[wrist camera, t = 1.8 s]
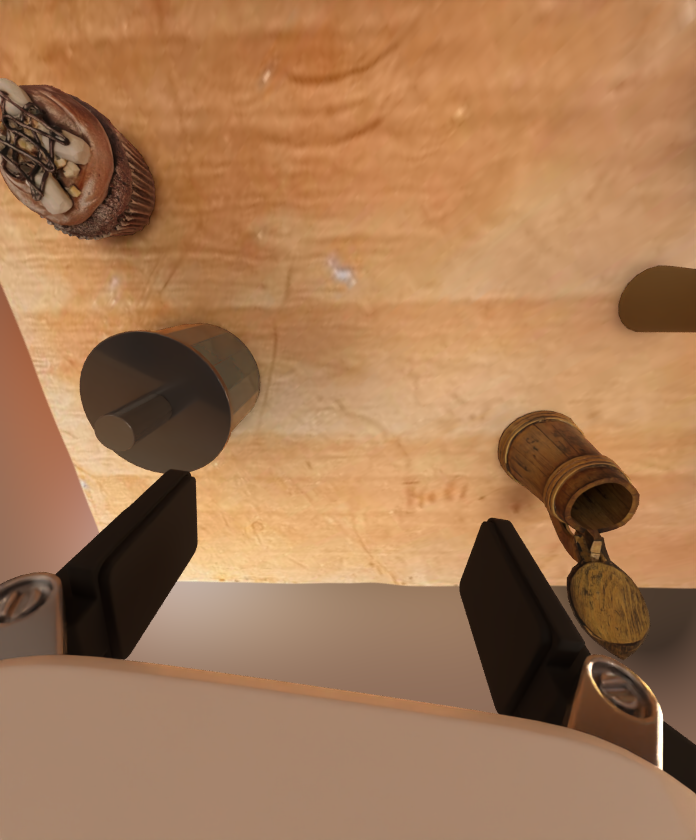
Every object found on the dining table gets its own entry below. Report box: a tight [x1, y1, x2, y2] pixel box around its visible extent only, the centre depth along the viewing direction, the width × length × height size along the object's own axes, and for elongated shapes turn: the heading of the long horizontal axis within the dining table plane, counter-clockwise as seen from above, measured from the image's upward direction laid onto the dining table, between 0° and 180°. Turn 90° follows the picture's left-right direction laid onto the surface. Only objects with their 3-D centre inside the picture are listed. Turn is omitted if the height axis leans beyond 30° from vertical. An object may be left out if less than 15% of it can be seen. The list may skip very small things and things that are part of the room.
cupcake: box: [0, 78, 155, 240], centre depth 26 cm, size 10×10×10 cm
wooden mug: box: [498, 411, 650, 660], centre depth 31 cm, size 9×14×18 cm, turn 178°
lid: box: [80, 330, 233, 473], centre depth 26 cm, size 13×13×6 cm
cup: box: [156, 323, 260, 432], centre depth 33 cm, size 12×12×10 cm
